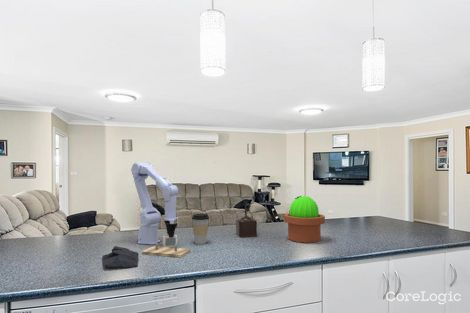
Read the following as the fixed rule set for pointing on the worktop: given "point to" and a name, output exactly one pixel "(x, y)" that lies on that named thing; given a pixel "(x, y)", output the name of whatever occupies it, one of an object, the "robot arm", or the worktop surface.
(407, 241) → the worktop surface
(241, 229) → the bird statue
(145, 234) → the robot arm
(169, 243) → the white rectangular block
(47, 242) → the worktop surface
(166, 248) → the ledge
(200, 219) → the coffee cup
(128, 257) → the dark slate chunk
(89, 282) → the worktop surface
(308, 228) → the potted cactus
